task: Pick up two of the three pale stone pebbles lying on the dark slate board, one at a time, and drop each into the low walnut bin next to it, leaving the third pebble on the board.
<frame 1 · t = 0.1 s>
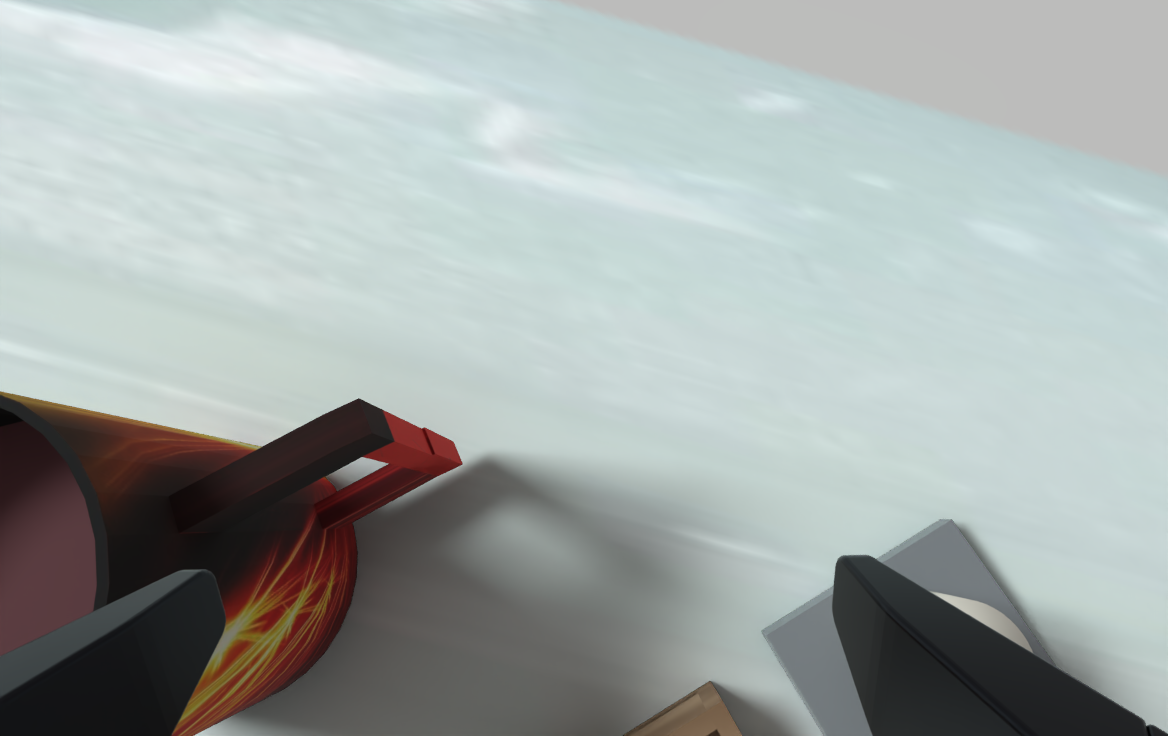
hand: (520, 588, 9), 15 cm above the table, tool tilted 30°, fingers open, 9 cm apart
pebble c: (903, 642, 21), point 1 cm above the table, touching slate board
mug: (275, 526, 24), on the table
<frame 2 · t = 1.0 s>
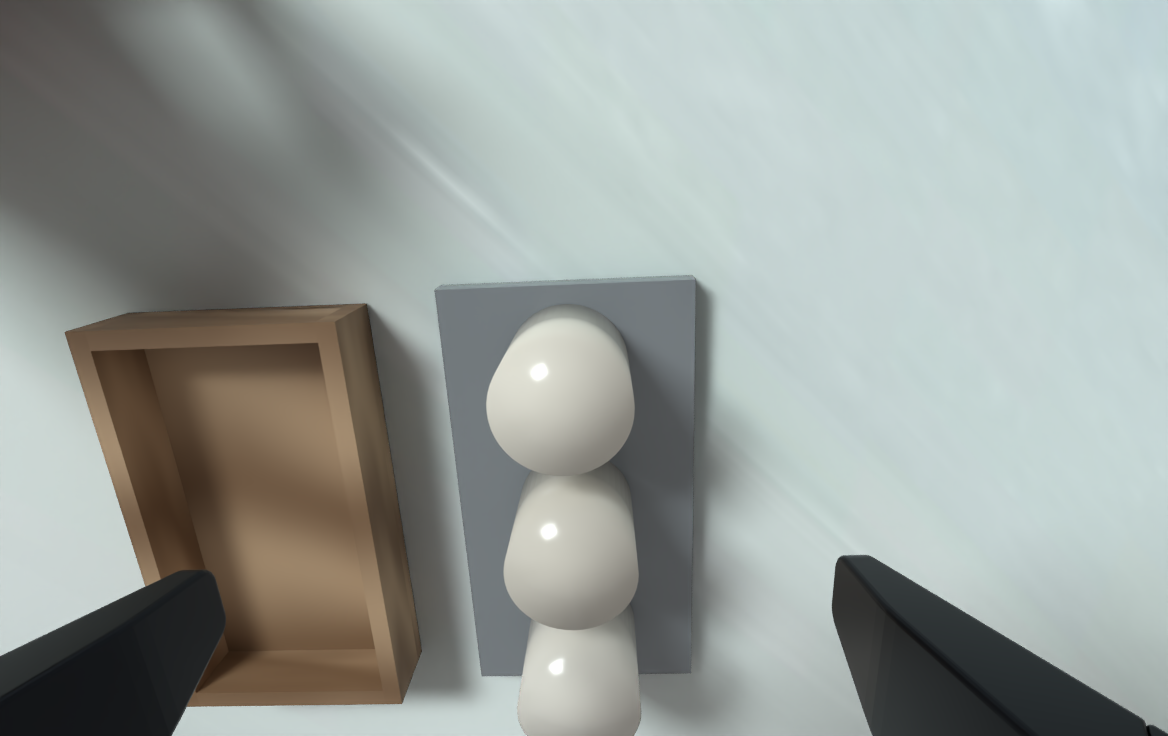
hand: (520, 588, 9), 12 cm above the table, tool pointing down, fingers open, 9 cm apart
pebble b: (576, 501, 21), point 1 cm above the table, touching slate board
slate board: (576, 489, 22), on the table
walnut bin: (288, 497, 22), on the table
pebble c: (568, 362, 19), point 1 cm above the table, touching slate board
pebble a: (582, 620, 22), point 1 cm above the table, touching slate board
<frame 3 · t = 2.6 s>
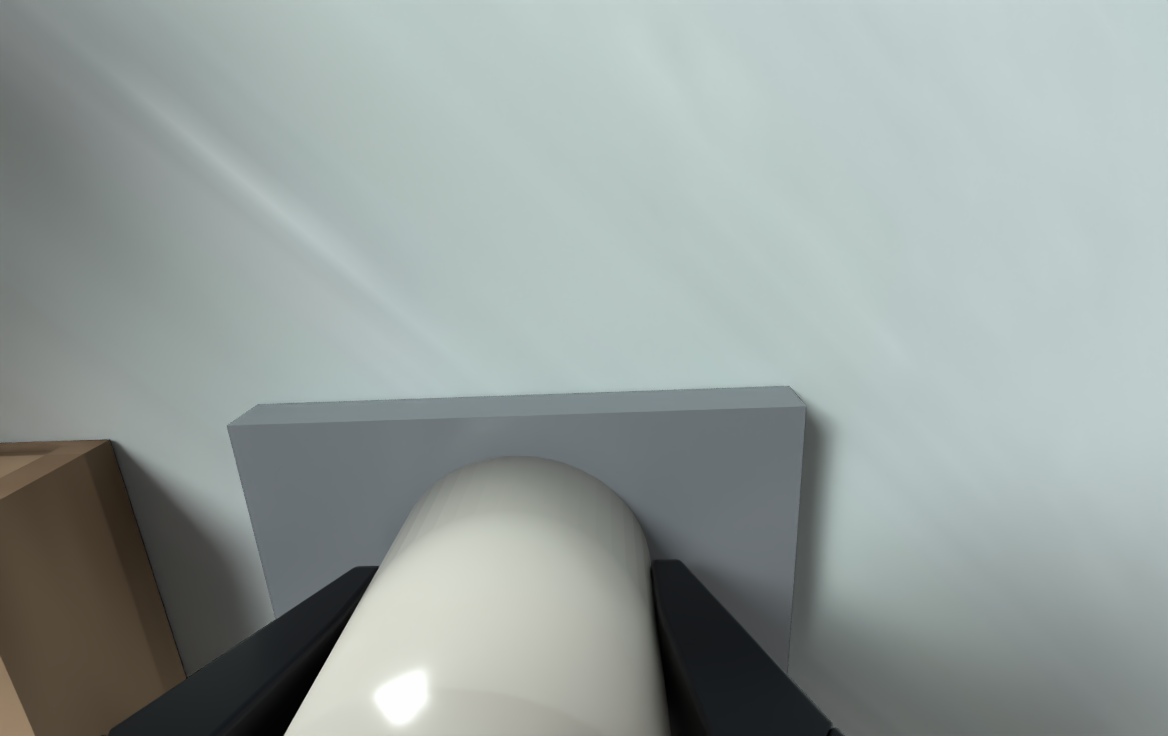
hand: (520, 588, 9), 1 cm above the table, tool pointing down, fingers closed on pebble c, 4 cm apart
pebble c: (524, 570, 9), point 1 cm above the table, touching gripper, slate board
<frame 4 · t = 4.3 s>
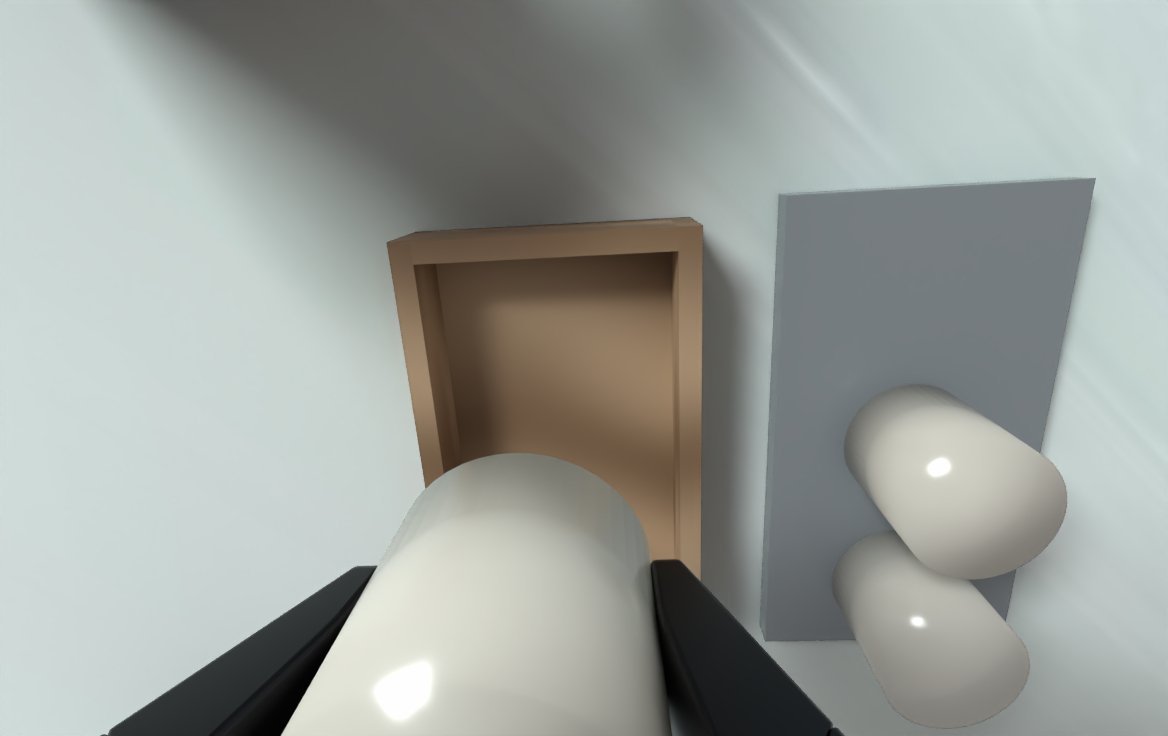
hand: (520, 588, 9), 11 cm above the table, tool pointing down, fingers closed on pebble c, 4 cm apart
pebble b: (907, 442, 19), point 1 cm above the table, touching slate board
slate board: (895, 431, 19), on the table
walnut bin: (566, 442, 20), on the table
pebble c: (523, 568, 9), point 10 cm above the table, touching gripper
pebble a: (890, 578, 20), point 1 cm above the table, touching slate board
when the fingers open (4 cm above the table, at t = 5.8 s): pebble c drops 3 cm, resting on walnut bin.
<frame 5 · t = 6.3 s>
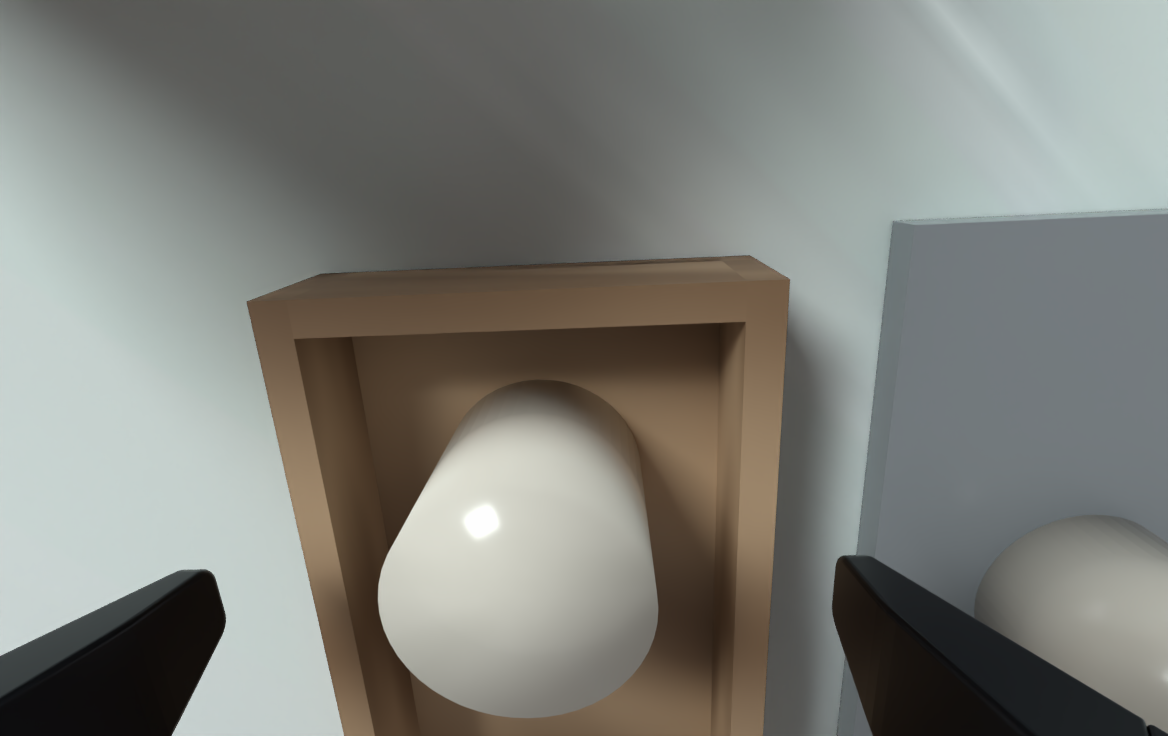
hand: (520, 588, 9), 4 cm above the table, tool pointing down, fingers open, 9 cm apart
pebble b: (1072, 597, 12), point 1 cm above the table, touching slate board
slate board: (1044, 571, 13), on the table
walnut bin: (555, 581, 13), on the table
pebble c: (544, 469, 12), point 1 cm above the table, touching walnut bin
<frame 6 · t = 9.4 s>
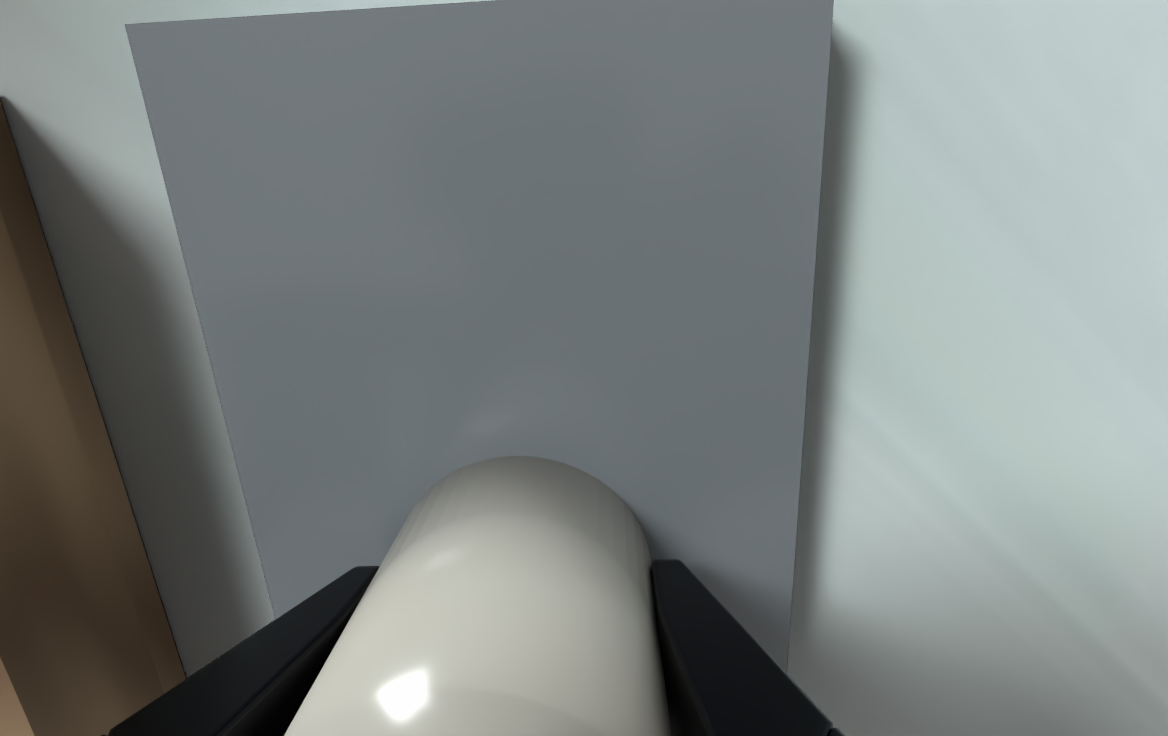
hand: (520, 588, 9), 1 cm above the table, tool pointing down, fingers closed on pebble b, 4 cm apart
pebble b: (524, 570, 9), point 1 cm above the table, touching gripper, slate board
slate board: (530, 539, 10), on the table
when the fingers open (4 cm above the table, at t = 12.5 s): pebble b drops 3 cm, resting on walnut bin.
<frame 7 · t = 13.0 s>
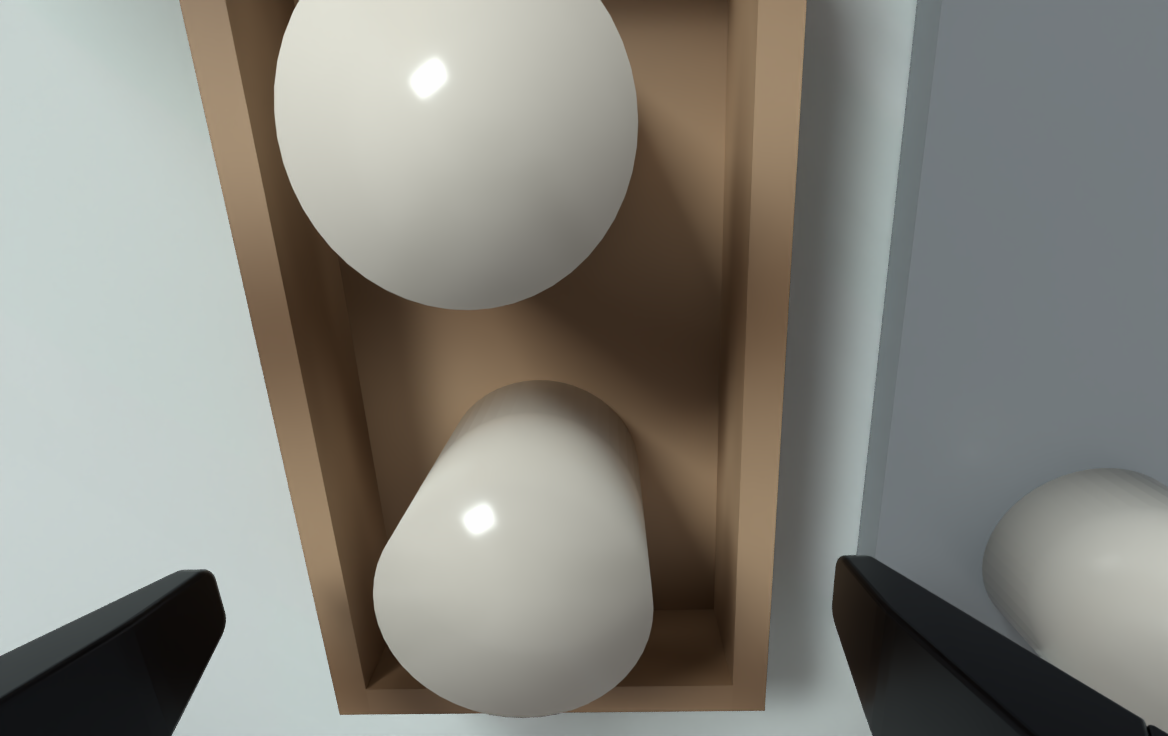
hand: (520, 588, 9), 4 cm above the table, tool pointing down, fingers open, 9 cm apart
pebble b: (542, 470, 12), point 1 cm above the table, touching walnut bin
slate board: (1107, 295, 11), on the table
walnut bin: (536, 317, 12), on the table
pebble c: (519, 147, 10), point 1 cm above the table, touching walnut bin
pebble a: (1082, 554, 12), point 1 cm above the table, touching slate board
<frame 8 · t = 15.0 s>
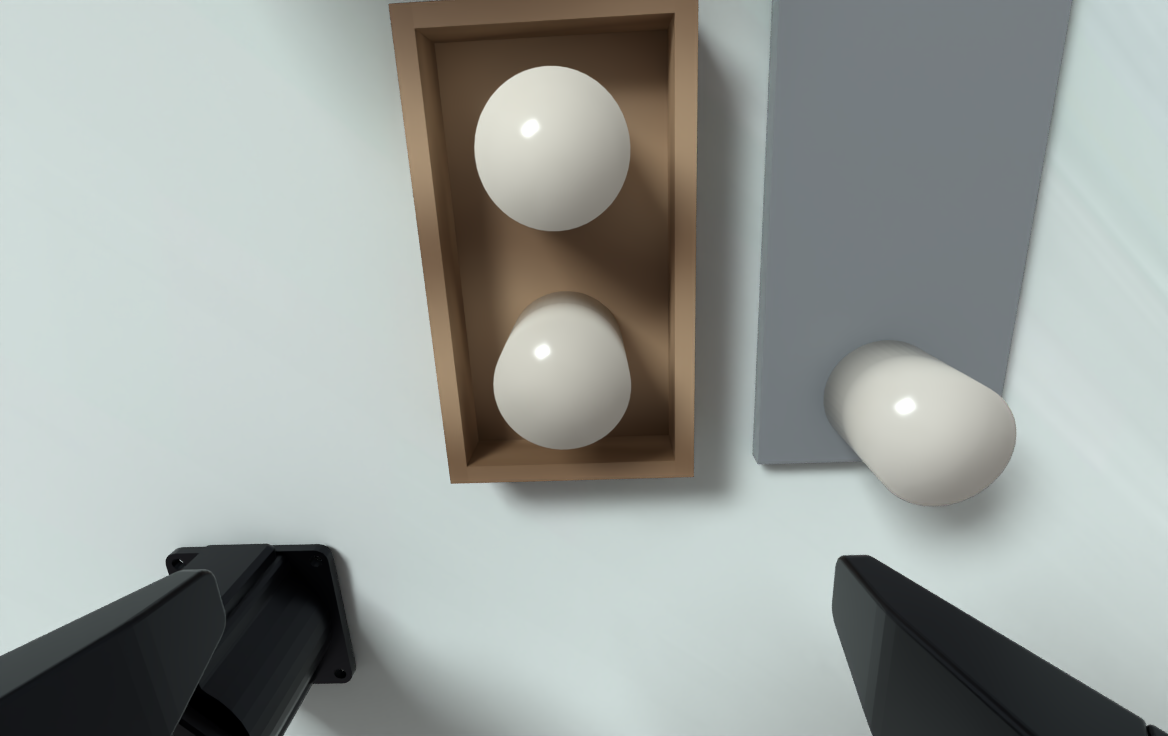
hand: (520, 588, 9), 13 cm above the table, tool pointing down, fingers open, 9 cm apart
pebble b: (566, 346, 21), point 1 cm above the table, touching walnut bin
slate board: (886, 241, 20), on the table
walnut bin: (563, 255, 20), on the table
pebble c: (557, 158, 19), point 1 cm above the table, touching walnut bin
pebble a: (880, 394, 20), point 1 cm above the table, touching slate board
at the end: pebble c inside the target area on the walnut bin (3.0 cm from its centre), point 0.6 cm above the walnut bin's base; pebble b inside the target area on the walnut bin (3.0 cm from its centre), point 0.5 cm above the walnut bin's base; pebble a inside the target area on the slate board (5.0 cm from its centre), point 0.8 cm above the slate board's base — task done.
